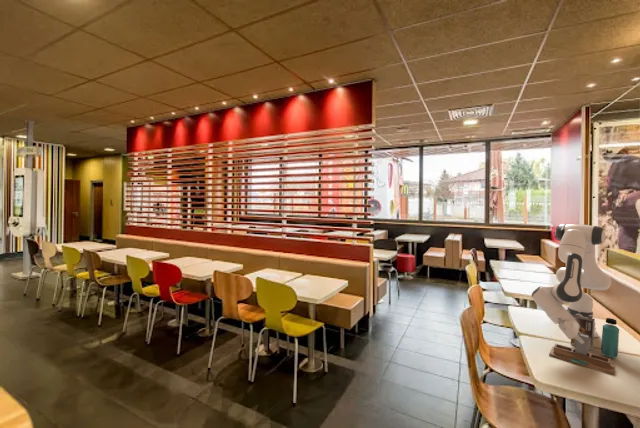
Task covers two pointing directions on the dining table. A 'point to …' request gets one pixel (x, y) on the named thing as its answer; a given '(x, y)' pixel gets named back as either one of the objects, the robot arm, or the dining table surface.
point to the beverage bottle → (610, 338)
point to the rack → (582, 359)
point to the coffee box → (585, 329)
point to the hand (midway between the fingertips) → (583, 341)
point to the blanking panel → (582, 345)
